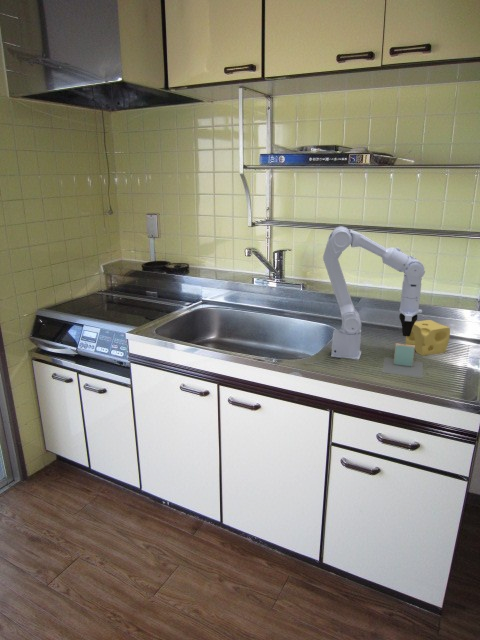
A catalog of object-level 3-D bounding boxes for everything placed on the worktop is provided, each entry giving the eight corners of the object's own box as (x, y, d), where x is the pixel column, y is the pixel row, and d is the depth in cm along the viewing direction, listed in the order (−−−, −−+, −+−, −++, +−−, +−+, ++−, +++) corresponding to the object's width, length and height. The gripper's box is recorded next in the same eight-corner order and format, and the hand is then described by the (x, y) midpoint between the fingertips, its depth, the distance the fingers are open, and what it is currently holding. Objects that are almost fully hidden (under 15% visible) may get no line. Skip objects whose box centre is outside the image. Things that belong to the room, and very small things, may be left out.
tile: (393, 364, 150) (395, 344, 148) (393, 363, 151) (395, 343, 149) (412, 367, 148) (415, 346, 146) (412, 365, 149) (415, 345, 147)
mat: (381, 374, 144) (382, 372, 144) (384, 359, 156) (384, 357, 156) (422, 379, 140) (422, 377, 140) (422, 364, 152) (422, 362, 152)
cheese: (421, 357, 158) (425, 330, 155) (403, 346, 168) (406, 320, 164) (447, 354, 160) (451, 327, 157) (427, 344, 170) (431, 318, 167)
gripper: (423, 303, 142) (419, 344, 146) (423, 292, 155) (418, 330, 159) (399, 301, 144) (395, 341, 148) (401, 290, 157) (397, 328, 161)
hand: (406, 335), depth 154 cm, fingers closed
